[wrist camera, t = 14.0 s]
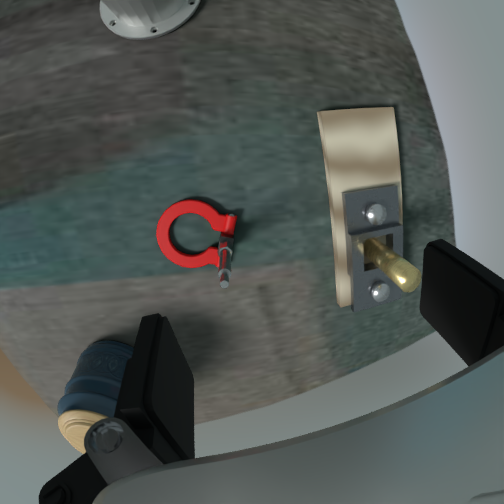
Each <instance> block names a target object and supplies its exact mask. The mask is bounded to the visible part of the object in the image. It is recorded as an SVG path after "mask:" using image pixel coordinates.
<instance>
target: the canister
mask: <svg viewBox="0 0 504 504" xmlns="http://www.w3.org/2000/svg"><path fill="white" fill-rule="evenodd" d="M133 350H134V348H133V347H131V346H129V345H126V344H124V343H120V342H116V341H99V342H95V343H93V344H91V345H90V346H88V347H87V348H86V350H84V351H83V353H82V354H81V356H80V358H79V359H78V362H77V366H76V368H75V371H74V373H73V375H72V377H71V379H70V381H69V382H68V383H67V384H66V387H65V395H64V396H63V397H62V398H61V399H60V400H59V402H58V414H59V419H58V426H59V429H60V431H61V433H62V434H63V436H64V437H65V438H66V439H67V440H68V441H69V442H70V444H71V445H72V446H73V447H74V448H76V449H77V450H78V451H80V452H81V453H83V454H84V453H86V450H85V447H84V437H85V434H86V432H87V431H88V429H89V428H90V427H91V426H92V425H93V424H94V423H95V422H97V421H99V420H101V419H104V418H108V417H114V413H115V408H116V404H117V399H118V395H119V391H120V387H121V383H122V378H123V374H124V370H125V367H126V363H127V360H128V359H129V358H132V354H133Z"/></svg>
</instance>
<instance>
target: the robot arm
mask: <svg viewBox="0 0 504 504" xmlns="http://www.w3.org/2000/svg"><path fill="white" fill-rule="evenodd" d="M200 1H201V0H101V1H100V14H101V18H102V20H103V22H104V24H105V25H106V26H107V27H108V28H109V29H110V30H111V31H112V32H113V33H115V34H117V35H119V36H121V37H124V38H127V39H134V40H145V39H152V38H156V37H160V36H162V35H165V34H168V33H170V32H172V31H173V30H175V29H177V28H179V27H180V26H181V25H183V24H184V23H185V22H186V21H187V20H188V19H189V18H190V17H191V16H192V15H193V14H194V12H195V11H196V9H197V8H198V6H199V3H200ZM192 3H193V5H190V4H192ZM114 24H115V25H114ZM113 25H114V26H113ZM154 31H157V32H155V33H153V32H154ZM420 312H421V314H422V316H423V317H424V318H425V319H426V320H427V321H428V322H429V323H430V324H431V326H432V327H433V328H434V329H435V330H436V331H437V332H438V333H439V334H440V335H441V336H442V337H443V338H444V339H445V340H446V342H447V343H448V344H449V345H450V346H451V347H452V348H453V349H454V350H455V352H456V353H457V354H458V355H459V356H460V357H461V358H462V359H463V360H464V362H465V363H466V364H467V365H468V366H469V367H467V368H465V369H464V370H462V371H460V372H458V373H456V374H455V375H453V376H451V377H449V378H447V379H445V380H443V381H441V382H439V383H437V384H435V385H433V386H431V387H429V388H427V389H425V390H423V391H421V392H418V393H416V394H414V395H412V396H410V397H407V398H405V399H403V400H401V401H398V402H396V403H394V404H392V405H389V406H387V407H384V408H381V409H379V410H376V411H374V412H371V413H369V414H366V415H363V416H361V417H358V418H355V419H353V420H350V421H347V422H344V423H341V424H338V425H335V426H332V427H329V428H326V429H322V430H319V431H316V432H312V433H309V434H306V435H302V436H299V437H295V438H291V439H287V440H284V441H279V442H275V443H271V444H266V445H262V446H258V447H253V448H249V449H244V450H240V451H234V452H229V453H223V454H218V455H212V456H206V457H200V458H195V452H194V451H195V449H194V379H193V375H192V372H191V370H190V368H189V366H188V363H187V361H186V359H185V357H184V355H183V353H182V350H181V348H180V346H179V344H178V342H177V339H176V337H175V335H174V332H173V330H172V328H171V326H170V323H169V321H168V319H167V317H166V316H164V317H161V315H160V314H159V313H157V314H153V315H148V316H144V317H142V320H141V323H140V327H139V331H138V334H137V338H136V342H135V346H134V350H133V354H132V358H129V359H128V360H127V363H126V367H125V370H124V374H123V378H122V383H121V387H120V391H119V395H118V399H117V404H116V408H115V413H114V417H108V418H104V419H101V420H99V421H97V422H95V423H94V424H93V425H92V426H91V427H90V428H89V429H88V431H87V432H86V434H85V437H84V447H85V450H86V453H84V454H83V455H82V456H81V457H79V458H78V459H77V460H75V461H74V462H73V463H72V464H70V465H69V466H68V467H67V468H65V469H64V470H63V471H61V472H60V473H59V474H57V475H56V476H55V477H53V478H52V479H51V480H49V481H48V482H47V483H46V484H45V485H44V486H43V487H42V489H41V491H40V494H39V504H504V279H502V278H501V277H499V276H498V275H496V274H495V273H493V272H492V271H491V270H489V269H488V268H486V267H485V266H483V265H482V264H480V263H479V262H477V261H476V260H474V259H473V258H471V257H470V256H468V255H467V254H465V253H464V252H462V251H460V250H459V249H457V248H456V247H454V246H453V245H451V244H450V243H448V242H446V241H445V240H443V239H438V240H435V241H432V242H429V243H428V244H427V246H426V248H425V249H424V257H423V275H422V288H421V299H420Z"/></svg>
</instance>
